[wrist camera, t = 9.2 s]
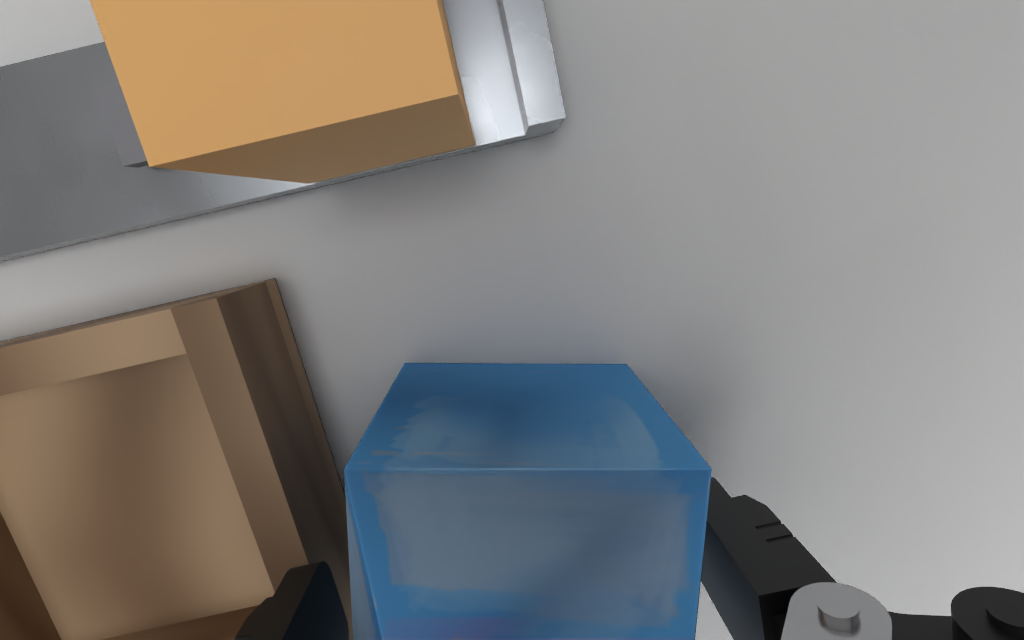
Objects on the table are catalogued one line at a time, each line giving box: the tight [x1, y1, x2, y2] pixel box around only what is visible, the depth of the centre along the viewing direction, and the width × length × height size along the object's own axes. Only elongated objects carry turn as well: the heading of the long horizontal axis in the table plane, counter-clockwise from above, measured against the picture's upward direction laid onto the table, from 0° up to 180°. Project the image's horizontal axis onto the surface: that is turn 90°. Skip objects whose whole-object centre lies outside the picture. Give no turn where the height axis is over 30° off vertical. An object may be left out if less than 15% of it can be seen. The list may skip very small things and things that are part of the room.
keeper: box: [0, 278, 353, 640], centre depth 14 cm, size 10×10×3 cm
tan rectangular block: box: [90, 0, 476, 184], centre depth 9 cm, size 8×4×6 cm, turn 103°
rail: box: [0, 0, 566, 262], centre depth 12 cm, size 20×4×2 cm, turn 103°
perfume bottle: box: [344, 363, 712, 640], centre depth 10 cm, size 6×6×12 cm
